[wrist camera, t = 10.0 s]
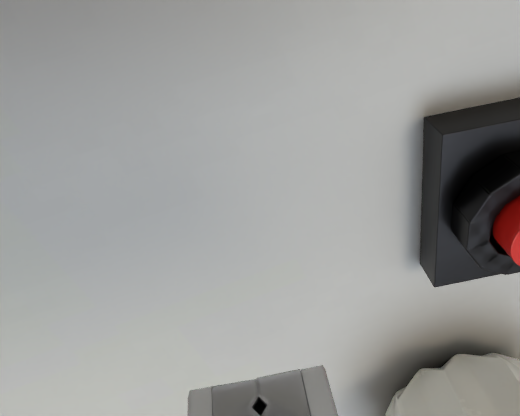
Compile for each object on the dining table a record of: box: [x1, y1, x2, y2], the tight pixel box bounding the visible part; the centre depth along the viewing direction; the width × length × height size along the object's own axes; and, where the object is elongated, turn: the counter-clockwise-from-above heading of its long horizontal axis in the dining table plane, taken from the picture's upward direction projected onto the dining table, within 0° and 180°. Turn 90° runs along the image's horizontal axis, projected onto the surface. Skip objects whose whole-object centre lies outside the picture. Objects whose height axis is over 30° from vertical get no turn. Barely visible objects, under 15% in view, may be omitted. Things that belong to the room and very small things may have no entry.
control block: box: [420, 98, 520, 287], centre depth 25 cm, size 10×8×4 cm
